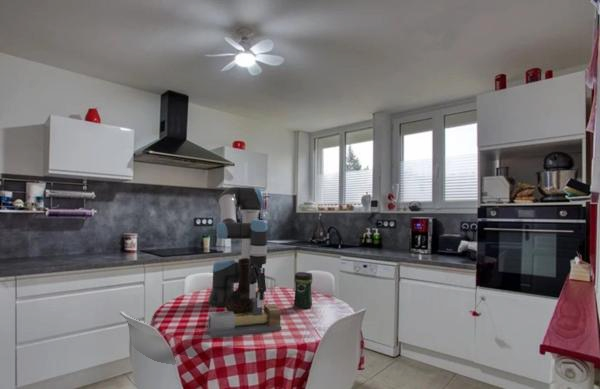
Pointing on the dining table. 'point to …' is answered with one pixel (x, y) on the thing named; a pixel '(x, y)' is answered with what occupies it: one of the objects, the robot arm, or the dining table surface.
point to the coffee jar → (303, 290)
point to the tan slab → (252, 315)
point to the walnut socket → (273, 315)
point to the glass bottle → (241, 291)
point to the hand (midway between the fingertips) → (256, 302)
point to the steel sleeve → (221, 321)
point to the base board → (245, 330)
